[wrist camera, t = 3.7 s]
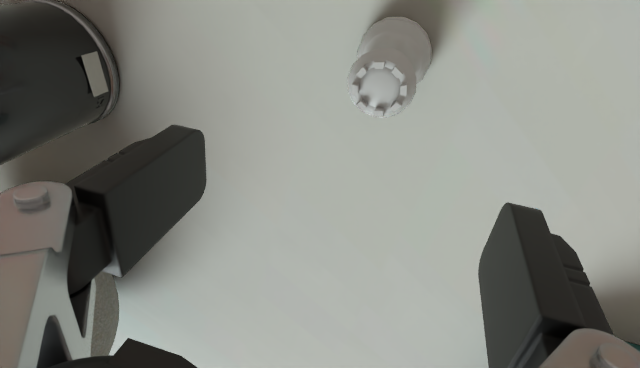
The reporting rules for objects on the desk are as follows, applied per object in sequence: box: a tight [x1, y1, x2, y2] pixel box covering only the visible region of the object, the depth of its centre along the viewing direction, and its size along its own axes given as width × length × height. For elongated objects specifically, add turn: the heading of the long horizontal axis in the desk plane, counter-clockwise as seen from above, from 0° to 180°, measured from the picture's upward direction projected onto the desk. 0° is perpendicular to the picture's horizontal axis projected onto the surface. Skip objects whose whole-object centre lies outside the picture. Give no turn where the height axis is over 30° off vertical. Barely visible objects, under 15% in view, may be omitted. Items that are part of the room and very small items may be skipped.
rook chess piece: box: [348, 17, 432, 117], centre depth 21 cm, size 4×4×8 cm
